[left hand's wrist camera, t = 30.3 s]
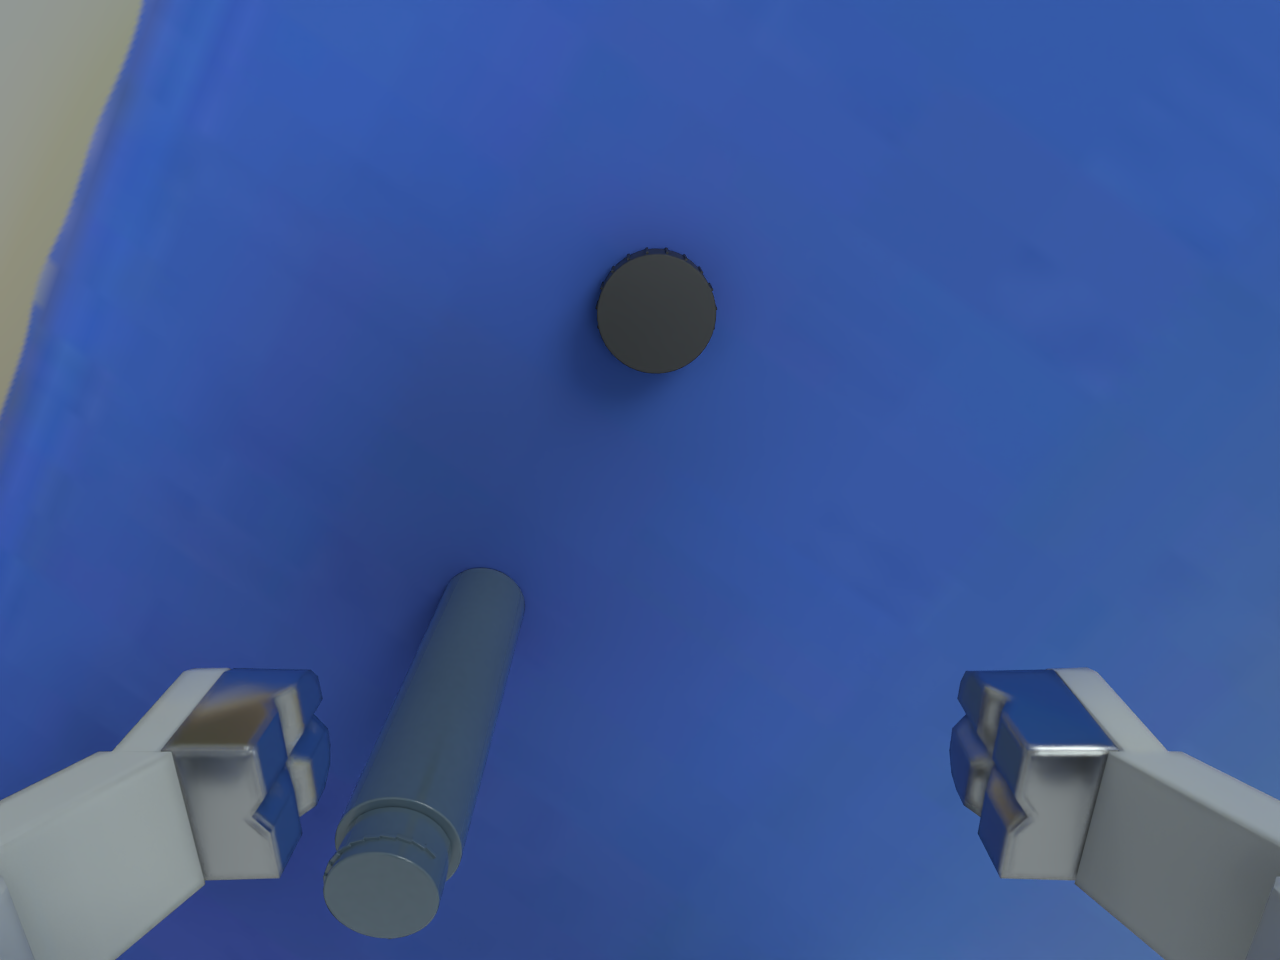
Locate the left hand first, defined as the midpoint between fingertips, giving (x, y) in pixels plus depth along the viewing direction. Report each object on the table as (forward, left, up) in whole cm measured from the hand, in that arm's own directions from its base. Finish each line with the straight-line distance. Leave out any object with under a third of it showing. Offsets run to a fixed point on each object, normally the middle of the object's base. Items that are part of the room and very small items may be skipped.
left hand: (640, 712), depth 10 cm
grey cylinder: (-17, +6, -29) cm, 34 cm away
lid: (0, -1, -28) cm, 28 cm away
